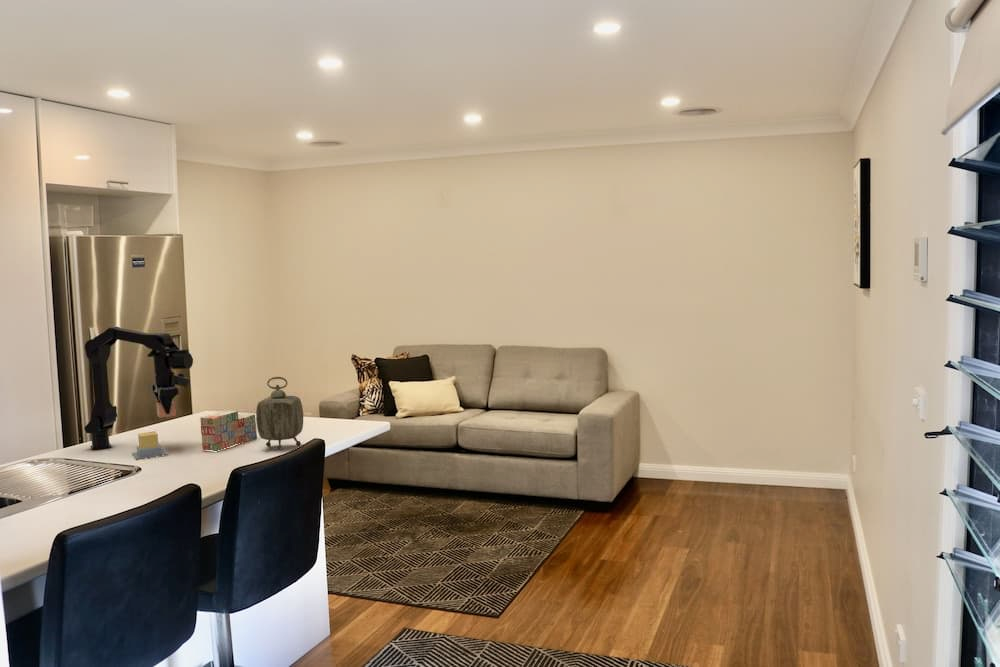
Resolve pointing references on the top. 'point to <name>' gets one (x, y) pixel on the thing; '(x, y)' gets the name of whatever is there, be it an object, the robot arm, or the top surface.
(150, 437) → the mustard brick
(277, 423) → the tabletop clock
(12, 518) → the top surface
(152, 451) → the baseplate
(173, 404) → the terracotta brick
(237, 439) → the stack of blocks
